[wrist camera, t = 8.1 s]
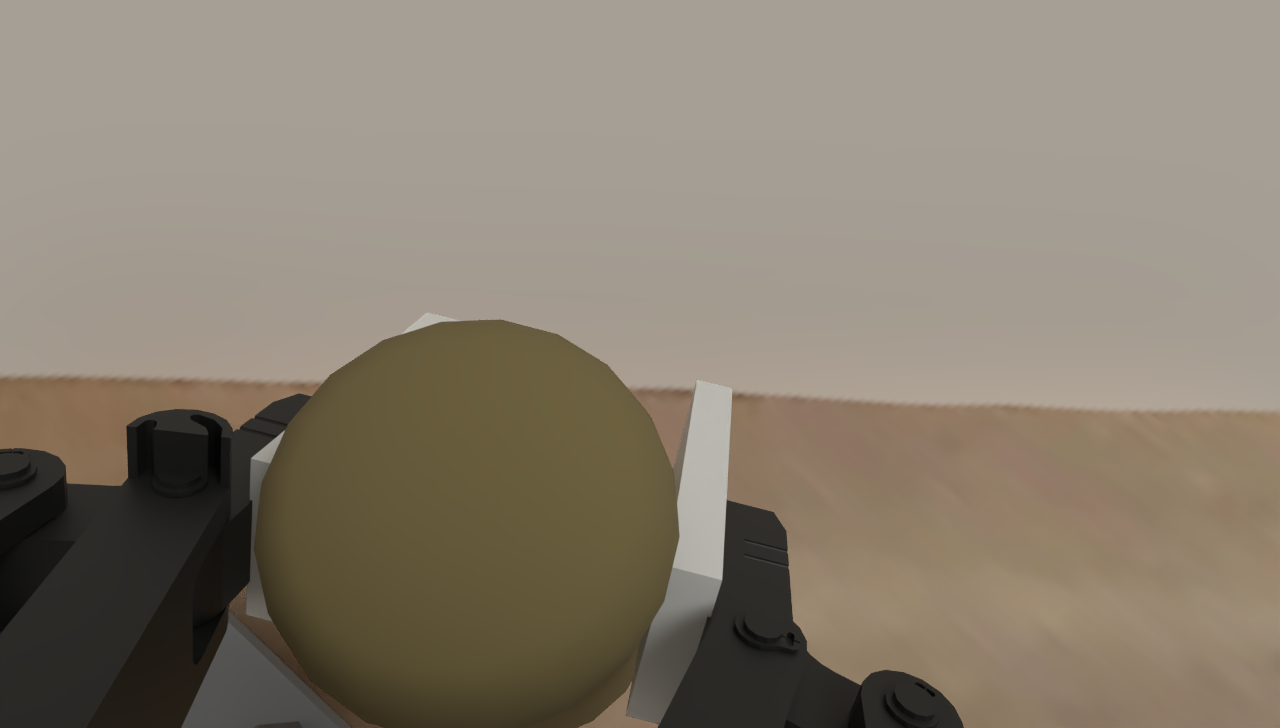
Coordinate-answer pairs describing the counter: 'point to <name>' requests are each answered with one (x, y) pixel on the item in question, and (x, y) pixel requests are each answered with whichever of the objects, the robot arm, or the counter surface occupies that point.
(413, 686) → the cork
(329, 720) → the stand
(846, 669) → the counter surface
